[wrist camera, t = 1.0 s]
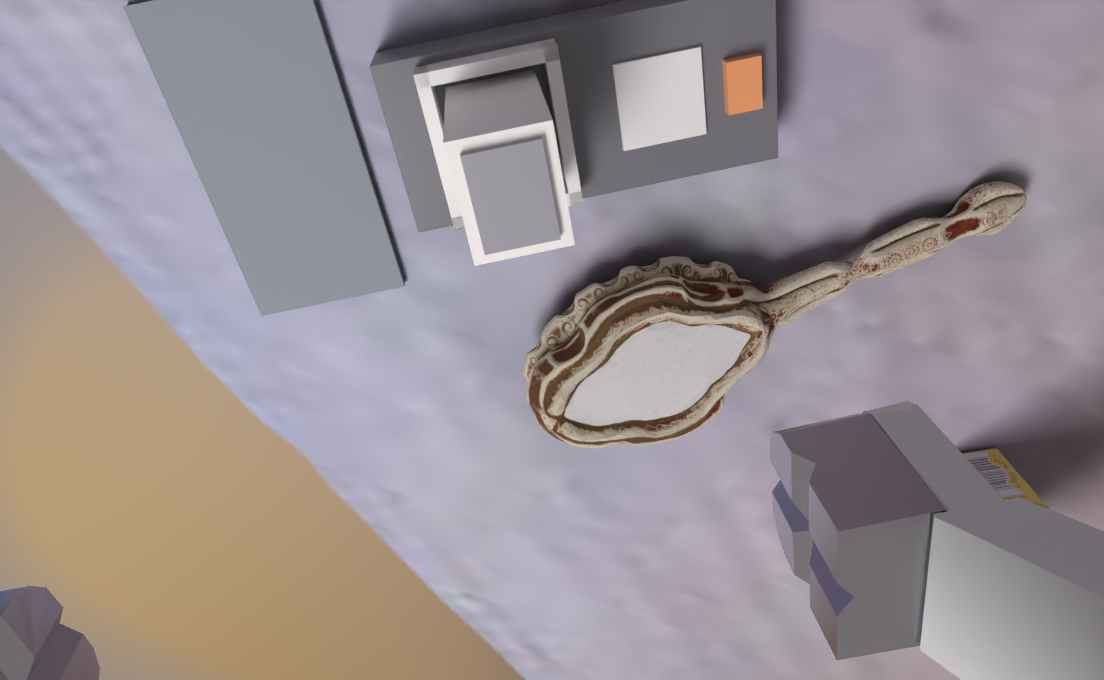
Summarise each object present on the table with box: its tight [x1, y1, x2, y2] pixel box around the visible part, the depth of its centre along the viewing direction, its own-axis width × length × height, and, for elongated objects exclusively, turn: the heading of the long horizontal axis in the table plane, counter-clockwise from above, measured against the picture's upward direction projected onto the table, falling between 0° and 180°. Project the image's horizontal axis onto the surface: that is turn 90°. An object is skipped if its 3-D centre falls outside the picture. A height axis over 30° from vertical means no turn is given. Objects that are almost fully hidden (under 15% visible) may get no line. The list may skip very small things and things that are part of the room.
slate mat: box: [124, 0, 405, 316], centre depth 38 cm, size 16×8×1 cm, turn 10°
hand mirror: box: [523, 181, 1026, 448], centre depth 43 cm, size 11×6×30 cm
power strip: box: [370, 0, 778, 232], centre depth 36 cm, size 8×18×4 cm, turn 100°
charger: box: [443, 69, 575, 266], centre depth 32 cm, size 5×4×8 cm
